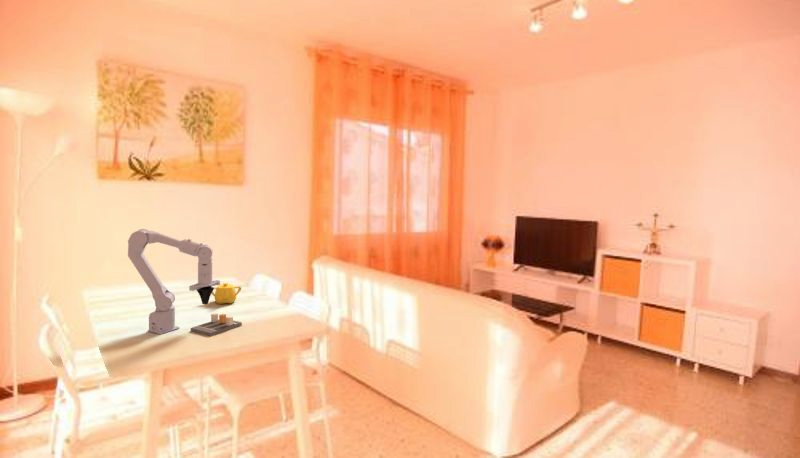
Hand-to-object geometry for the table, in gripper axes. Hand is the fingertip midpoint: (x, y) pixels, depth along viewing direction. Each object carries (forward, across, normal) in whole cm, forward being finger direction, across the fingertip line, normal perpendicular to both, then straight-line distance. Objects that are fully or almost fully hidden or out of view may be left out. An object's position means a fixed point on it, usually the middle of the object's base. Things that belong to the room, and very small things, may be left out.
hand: (205, 303), depth 193 cm
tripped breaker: (+9, +5, -6) cm, 11 cm away
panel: (+10, +2, -6) cm, 12 cm away
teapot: (+11, +34, +24) cm, 43 cm away
